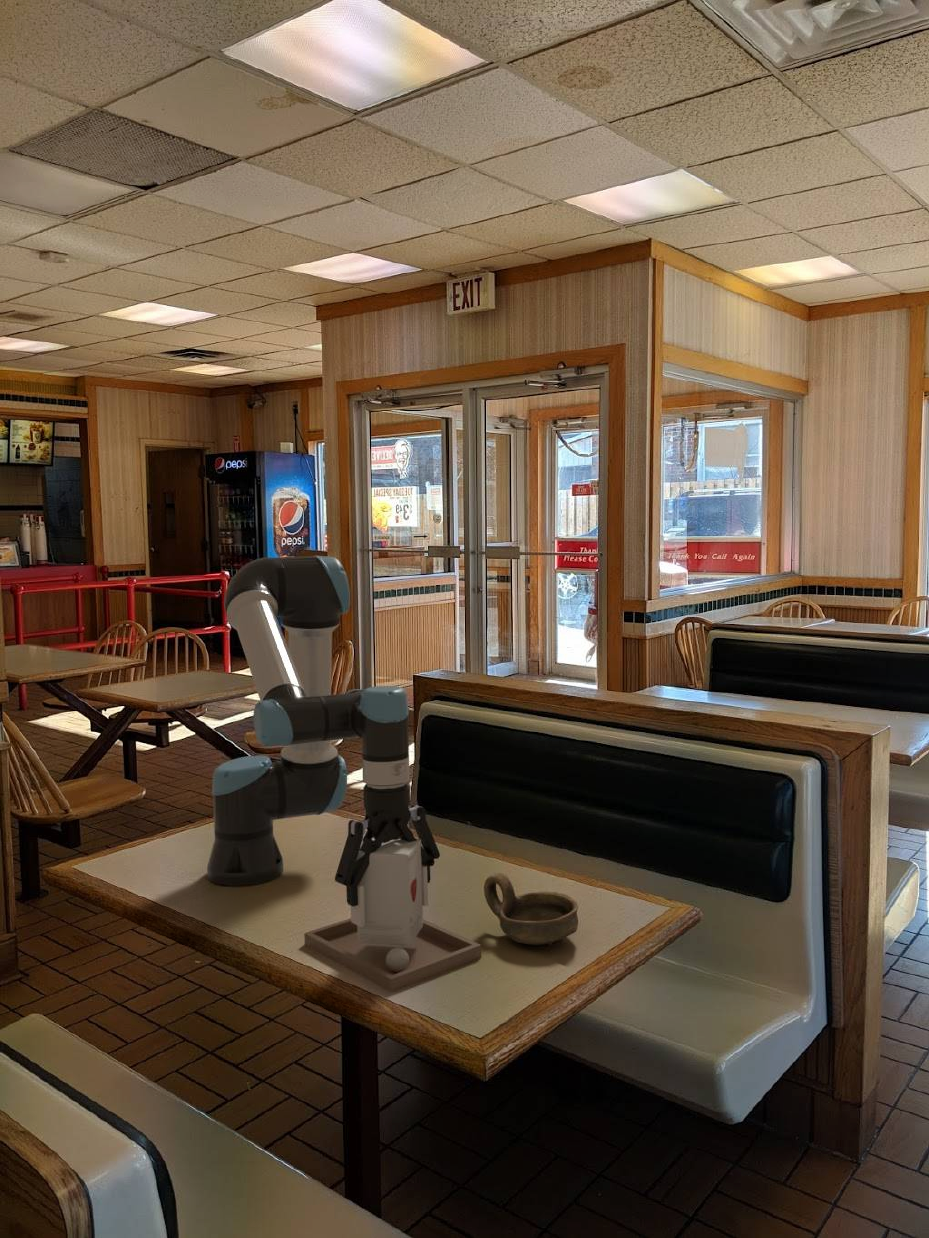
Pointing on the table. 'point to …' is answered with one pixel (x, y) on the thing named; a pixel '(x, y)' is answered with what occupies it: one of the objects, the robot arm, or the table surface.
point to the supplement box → (392, 894)
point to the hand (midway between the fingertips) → (390, 913)
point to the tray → (426, 952)
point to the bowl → (531, 912)
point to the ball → (397, 959)
